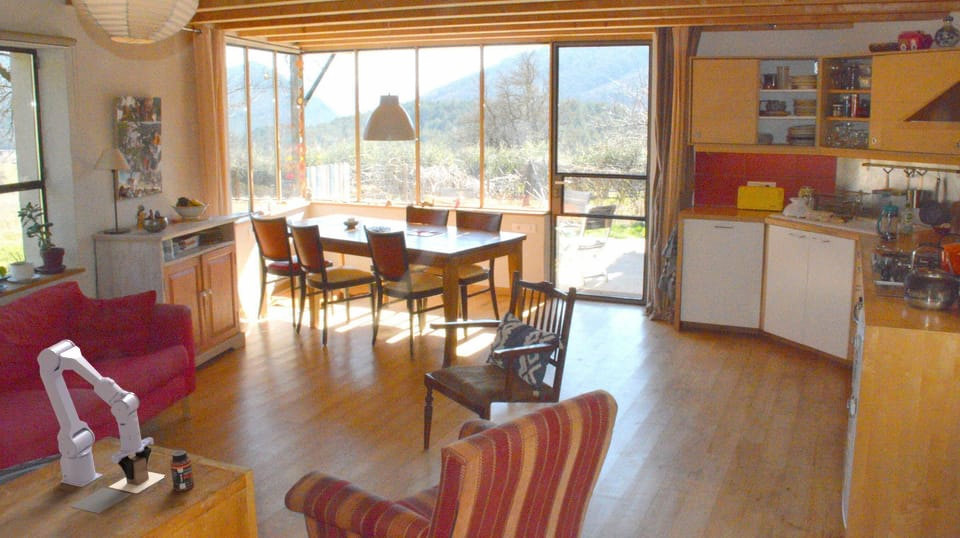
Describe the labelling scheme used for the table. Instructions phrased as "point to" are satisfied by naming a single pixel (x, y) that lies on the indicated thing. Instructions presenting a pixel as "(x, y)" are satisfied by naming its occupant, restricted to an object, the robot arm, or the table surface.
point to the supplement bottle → (181, 471)
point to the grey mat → (100, 500)
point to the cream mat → (134, 488)
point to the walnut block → (139, 471)
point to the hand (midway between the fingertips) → (137, 475)
